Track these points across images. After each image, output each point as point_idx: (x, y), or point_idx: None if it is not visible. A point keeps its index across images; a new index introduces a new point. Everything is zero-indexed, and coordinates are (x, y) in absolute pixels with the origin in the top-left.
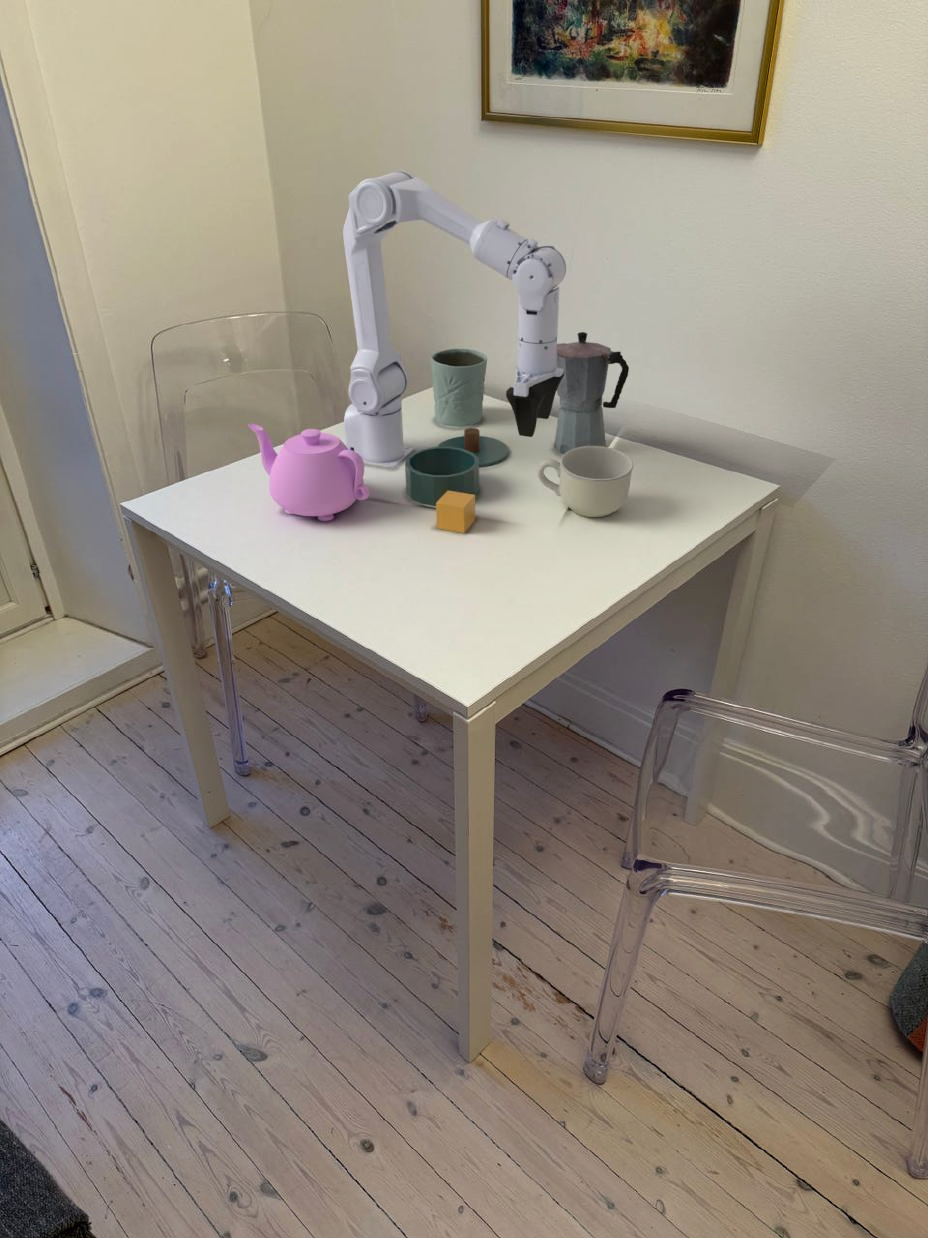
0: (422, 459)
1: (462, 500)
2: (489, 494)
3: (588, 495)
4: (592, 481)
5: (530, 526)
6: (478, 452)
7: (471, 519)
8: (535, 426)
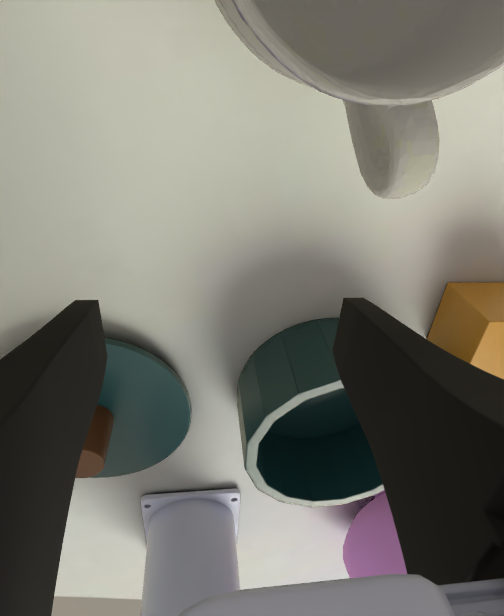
0: (289, 478)
1: None
2: (302, 298)
3: None
4: None
5: (479, 135)
6: (101, 400)
7: (478, 289)
8: (371, 317)
